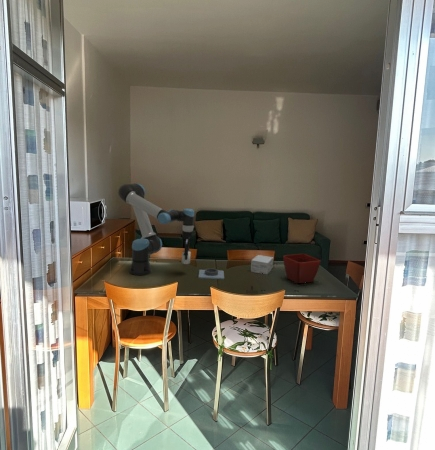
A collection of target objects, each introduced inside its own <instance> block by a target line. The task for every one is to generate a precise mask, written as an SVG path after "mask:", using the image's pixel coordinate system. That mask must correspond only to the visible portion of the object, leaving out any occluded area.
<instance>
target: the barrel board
mask: <svg viewBox="0 0 435 450" xmlns="http://www.w3.org/2000/svg"><path fill="white" fill-rule="evenodd" d="M224 271H225V270H219V269H217V268H212V267H211V268H210V267H209V268H206V269H198V277H197V278H198V279H210V280H225V273H224Z"/></svg>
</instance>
